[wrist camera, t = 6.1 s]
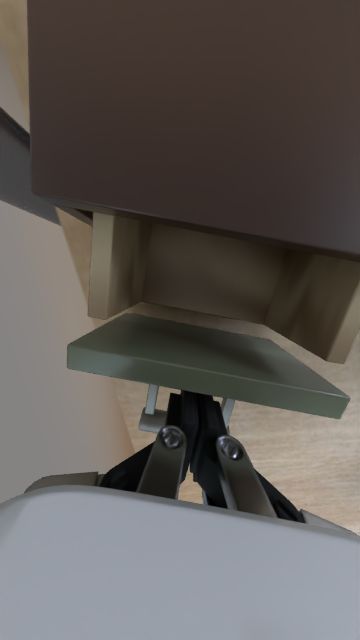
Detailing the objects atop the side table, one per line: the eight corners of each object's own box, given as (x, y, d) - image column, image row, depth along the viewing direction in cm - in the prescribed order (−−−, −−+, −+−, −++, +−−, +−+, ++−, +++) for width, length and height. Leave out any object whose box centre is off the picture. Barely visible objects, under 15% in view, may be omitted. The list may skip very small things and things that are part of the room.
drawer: (248, 407, 16) (297, 509, 9) (118, 383, 16) (63, 466, 9) (332, 152, 11) (581, -66, 4) (147, 116, 11) (79, -167, 4)
